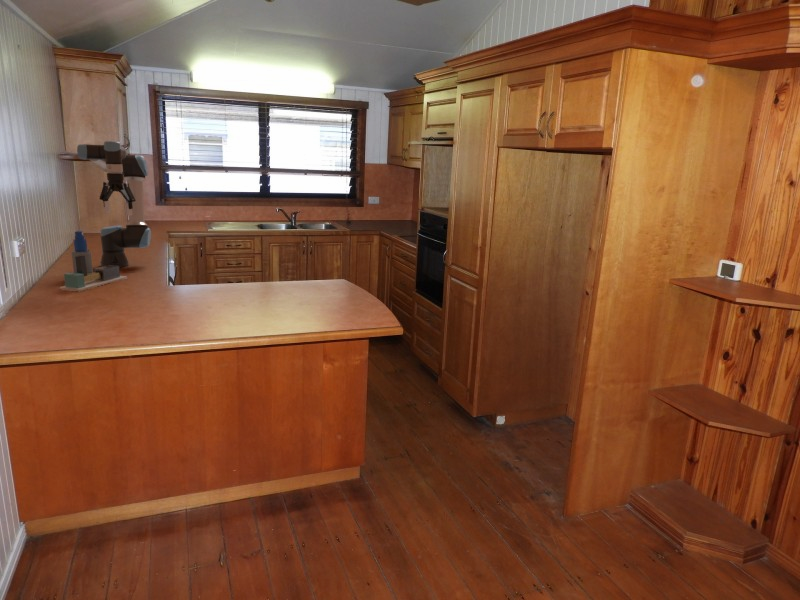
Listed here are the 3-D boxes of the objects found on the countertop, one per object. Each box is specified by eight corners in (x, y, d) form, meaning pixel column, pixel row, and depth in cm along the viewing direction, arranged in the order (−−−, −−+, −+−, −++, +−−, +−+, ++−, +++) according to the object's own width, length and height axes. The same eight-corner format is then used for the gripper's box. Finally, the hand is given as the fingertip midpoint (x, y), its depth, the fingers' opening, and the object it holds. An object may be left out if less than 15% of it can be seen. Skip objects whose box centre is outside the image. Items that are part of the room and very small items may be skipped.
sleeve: (110, 275, 304) (109, 264, 302) (120, 276, 302) (118, 265, 301) (94, 279, 294) (93, 268, 292) (104, 280, 292) (103, 269, 290)
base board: (109, 276, 307) (109, 274, 306) (127, 278, 304) (127, 276, 303) (59, 289, 277) (59, 287, 277) (79, 291, 274) (79, 289, 274)
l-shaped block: (99, 276, 295) (97, 252, 291) (104, 277, 294) (102, 252, 291) (70, 284, 277) (67, 258, 274) (75, 284, 277) (72, 258, 273)
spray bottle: (96, 276, 307) (91, 230, 301) (87, 279, 298) (82, 232, 292) (80, 275, 307) (75, 229, 301) (71, 279, 299) (65, 232, 292)
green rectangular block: (72, 285, 281) (70, 272, 280) (85, 286, 279) (83, 273, 277) (65, 286, 278) (63, 274, 276) (78, 288, 275) (77, 275, 274)
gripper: (89, 171, 286) (93, 213, 291) (130, 174, 279) (133, 216, 285) (100, 171, 293) (104, 212, 298) (140, 173, 286) (144, 215, 292)
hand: (118, 214), depth 292 cm, fingers open, 13 cm apart
